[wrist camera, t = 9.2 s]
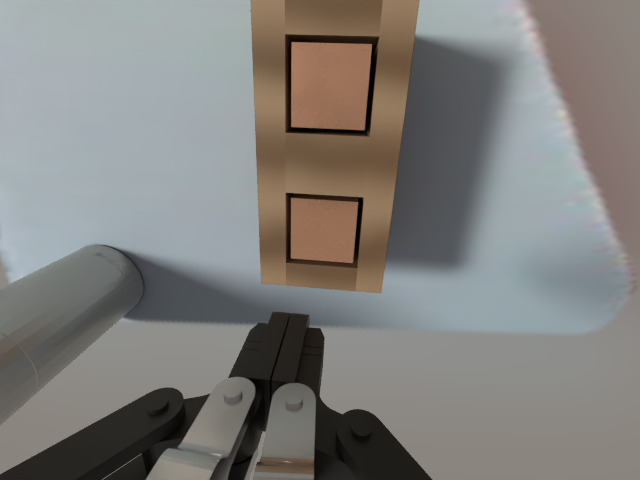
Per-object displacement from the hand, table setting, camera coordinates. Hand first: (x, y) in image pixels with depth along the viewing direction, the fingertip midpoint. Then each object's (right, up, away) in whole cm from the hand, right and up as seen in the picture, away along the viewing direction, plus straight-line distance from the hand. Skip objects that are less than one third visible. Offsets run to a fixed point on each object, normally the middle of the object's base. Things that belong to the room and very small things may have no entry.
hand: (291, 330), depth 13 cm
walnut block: (+2, +12, +17) cm, 22 cm away
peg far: (+2, +8, +19) cm, 21 cm away
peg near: (+3, +17, +15) cm, 23 cm away
